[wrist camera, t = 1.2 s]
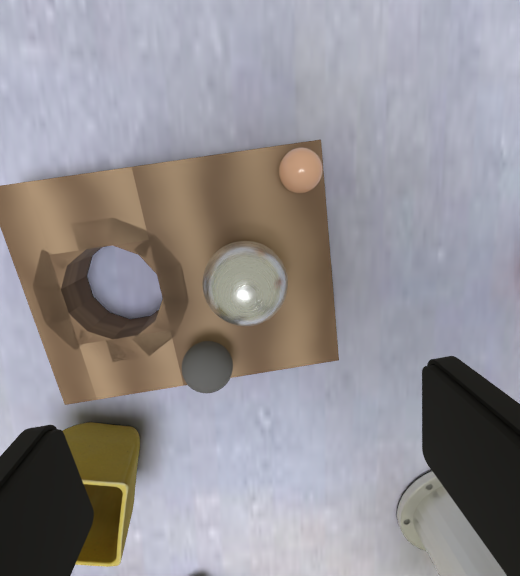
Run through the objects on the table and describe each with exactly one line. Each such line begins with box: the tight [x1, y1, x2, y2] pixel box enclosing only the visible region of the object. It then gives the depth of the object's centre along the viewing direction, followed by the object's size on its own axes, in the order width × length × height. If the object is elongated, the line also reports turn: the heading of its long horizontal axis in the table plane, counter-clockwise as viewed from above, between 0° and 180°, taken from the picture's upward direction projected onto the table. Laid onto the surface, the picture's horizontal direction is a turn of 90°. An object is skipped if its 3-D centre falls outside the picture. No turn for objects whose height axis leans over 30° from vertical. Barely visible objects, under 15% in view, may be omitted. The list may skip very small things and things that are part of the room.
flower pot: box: [63, 422, 140, 567], centre depth 30 cm, size 9×9×9 cm
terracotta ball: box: [279, 148, 322, 193], centre depth 22 cm, size 3×3×3 cm
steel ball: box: [202, 241, 288, 326], centre depth 23 cm, size 6×6×6 cm
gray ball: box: [182, 341, 233, 393], centre depth 25 cm, size 4×4×4 cm
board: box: [0, 140, 339, 405], centre depth 28 cm, size 24×18×4 cm
